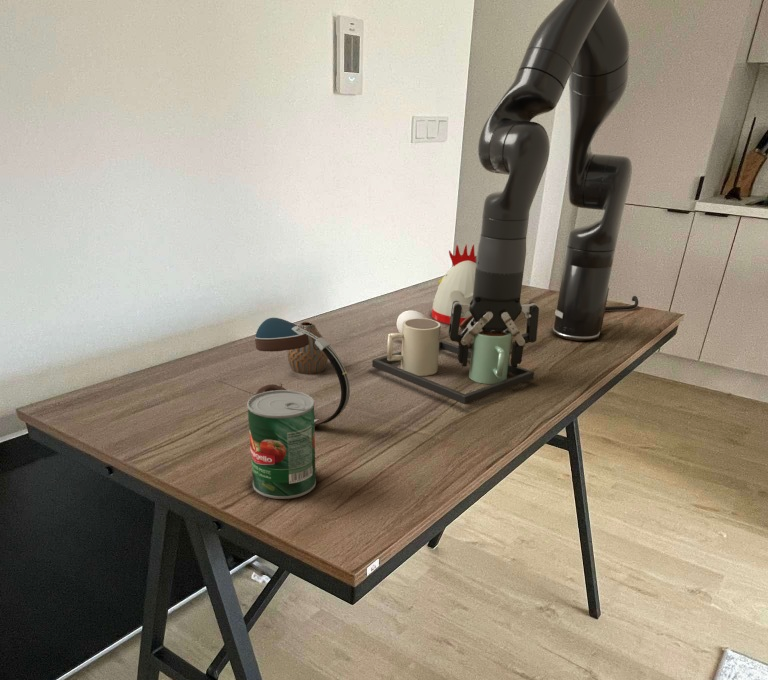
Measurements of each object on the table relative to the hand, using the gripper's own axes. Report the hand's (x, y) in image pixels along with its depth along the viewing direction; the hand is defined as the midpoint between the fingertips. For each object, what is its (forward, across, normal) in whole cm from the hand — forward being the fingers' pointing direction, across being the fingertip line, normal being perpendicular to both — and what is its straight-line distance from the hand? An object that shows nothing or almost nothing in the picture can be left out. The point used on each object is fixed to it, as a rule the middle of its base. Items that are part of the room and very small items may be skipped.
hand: (488, 365), depth 119 cm
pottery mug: (+3, +3, +18) cm, 19 cm away
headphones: (+3, -34, -16) cm, 37 cm away
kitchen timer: (+3, +2, +40) cm, 40 cm away
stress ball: (+3, -10, +23) cm, 26 cm away
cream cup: (+2, -13, +3) cm, 13 cm away
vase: (+3, -30, +4) cm, 31 cm away
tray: (+3, -6, +2) cm, 7 cm away
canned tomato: (+3, -32, -35) cm, 48 cm away
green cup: (+2, 0, -1) cm, 2 cm away
